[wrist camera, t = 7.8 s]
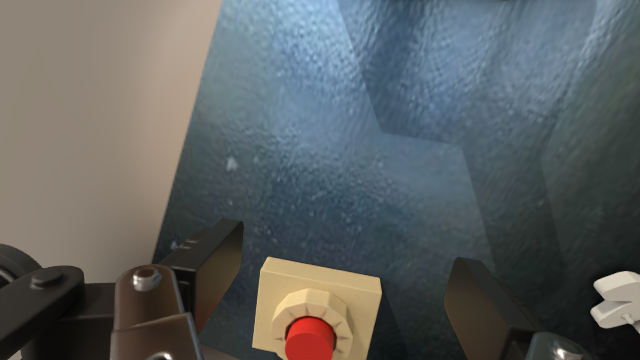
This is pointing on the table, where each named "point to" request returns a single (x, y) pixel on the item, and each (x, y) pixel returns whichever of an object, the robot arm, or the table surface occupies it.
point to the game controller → (618, 300)
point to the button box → (316, 306)
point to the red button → (309, 340)
